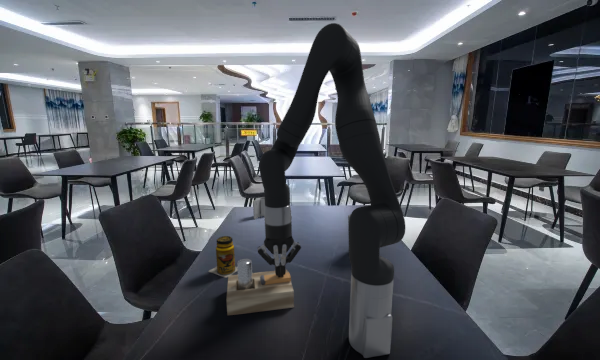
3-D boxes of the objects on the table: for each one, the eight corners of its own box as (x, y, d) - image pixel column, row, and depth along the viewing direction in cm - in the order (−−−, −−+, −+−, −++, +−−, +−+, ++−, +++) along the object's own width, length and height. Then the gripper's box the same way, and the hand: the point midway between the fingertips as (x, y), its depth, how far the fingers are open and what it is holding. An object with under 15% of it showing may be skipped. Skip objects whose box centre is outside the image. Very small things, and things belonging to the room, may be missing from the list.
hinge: (254, 219, 153) (253, 201, 151) (250, 216, 157) (249, 199, 155) (277, 214, 160) (276, 197, 158) (272, 212, 164) (272, 195, 162)
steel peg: (253, 303, 82) (251, 264, 80) (239, 305, 81) (237, 266, 79) (252, 295, 86) (251, 258, 84) (239, 297, 85) (237, 259, 83)
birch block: (293, 307, 80) (293, 291, 79) (227, 315, 77) (226, 298, 76) (287, 284, 92) (287, 269, 91) (229, 290, 88) (228, 275, 87)
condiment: (226, 278, 95) (224, 244, 93) (208, 271, 99) (205, 239, 97) (241, 268, 102) (239, 236, 99) (223, 262, 106) (221, 232, 103)
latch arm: (260, 285, 82) (260, 280, 82) (260, 279, 85) (259, 275, 85) (291, 281, 84) (290, 276, 83) (289, 275, 87) (289, 271, 86)
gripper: (298, 213, 86) (300, 266, 89) (253, 217, 83) (256, 272, 87) (304, 222, 79) (305, 279, 82) (254, 226, 76) (258, 285, 80)
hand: (280, 275), depth 85 cm, fingers closed
